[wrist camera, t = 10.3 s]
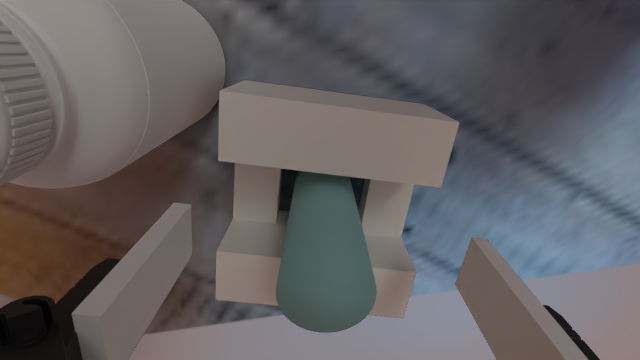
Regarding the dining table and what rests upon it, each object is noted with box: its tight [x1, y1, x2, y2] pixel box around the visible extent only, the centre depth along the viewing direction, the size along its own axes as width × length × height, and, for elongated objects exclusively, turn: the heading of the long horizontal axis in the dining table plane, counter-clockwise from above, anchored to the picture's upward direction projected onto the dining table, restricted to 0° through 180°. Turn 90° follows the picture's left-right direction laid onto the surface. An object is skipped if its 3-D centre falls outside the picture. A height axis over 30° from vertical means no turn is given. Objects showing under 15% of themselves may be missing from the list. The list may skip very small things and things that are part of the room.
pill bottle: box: [0, 0, 226, 189], centre depth 14 cm, size 8×8×15 cm
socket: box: [216, 80, 460, 318], centre depth 21 cm, size 13×12×6 cm
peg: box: [276, 171, 377, 332], centre depth 19 cm, size 4×4×12 cm
